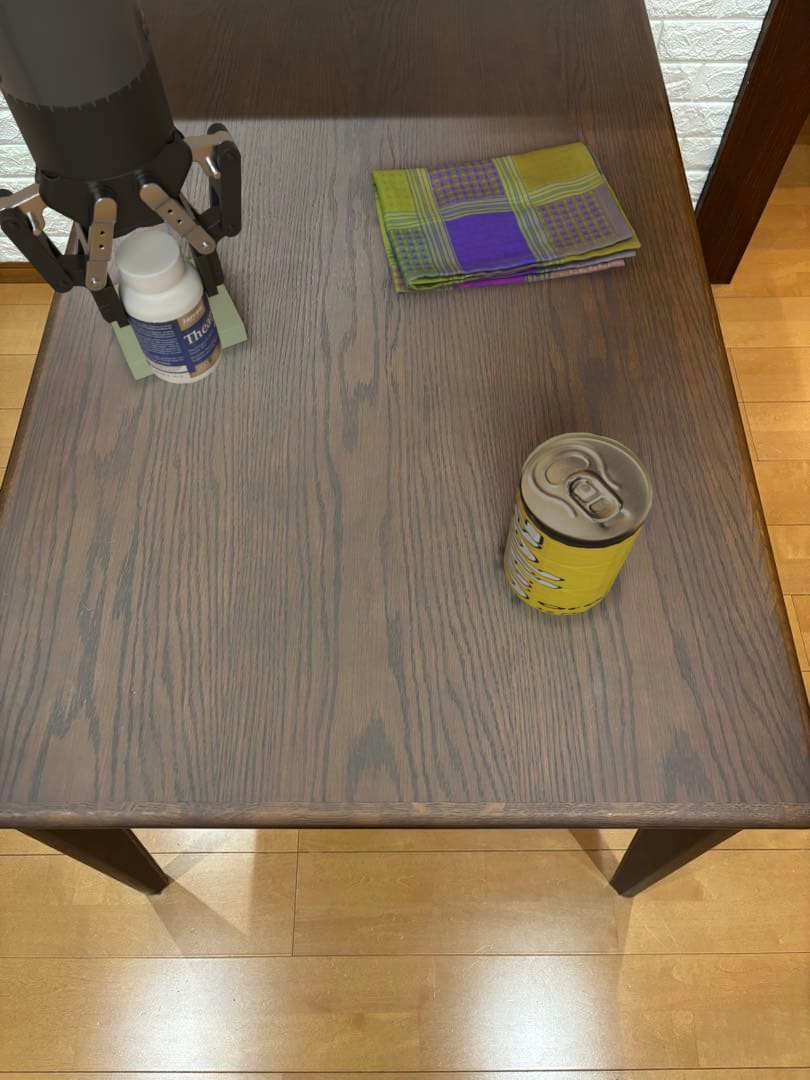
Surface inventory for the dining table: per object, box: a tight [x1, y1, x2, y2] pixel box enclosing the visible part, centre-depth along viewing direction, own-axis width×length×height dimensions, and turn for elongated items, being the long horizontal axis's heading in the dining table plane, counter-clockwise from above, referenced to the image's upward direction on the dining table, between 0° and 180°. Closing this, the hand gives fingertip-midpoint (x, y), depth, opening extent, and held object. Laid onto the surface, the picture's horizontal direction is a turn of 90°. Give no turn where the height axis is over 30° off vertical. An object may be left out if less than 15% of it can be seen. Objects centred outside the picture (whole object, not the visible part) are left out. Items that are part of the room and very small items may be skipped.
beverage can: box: [502, 431, 654, 616], centre depth 61 cm, size 9×9×12 cm
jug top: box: [111, 258, 249, 381], centre depth 77 cm, size 11×10×4 cm
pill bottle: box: [114, 229, 223, 385], centre depth 55 cm, size 5×5×10 cm
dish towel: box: [370, 141, 642, 296], centre depth 83 cm, size 18×24×3 cm
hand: (165, 302), depth 54 cm, fingers closed on pill bottle, 5 cm apart
